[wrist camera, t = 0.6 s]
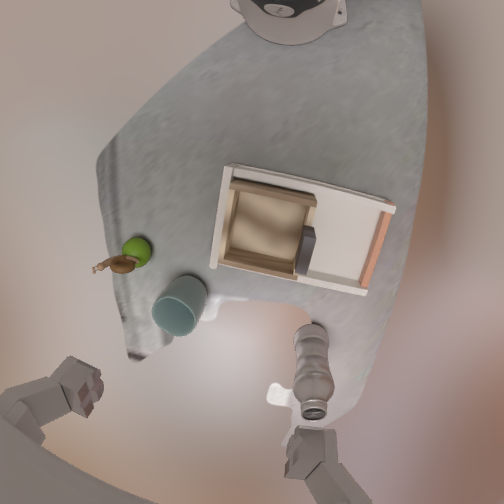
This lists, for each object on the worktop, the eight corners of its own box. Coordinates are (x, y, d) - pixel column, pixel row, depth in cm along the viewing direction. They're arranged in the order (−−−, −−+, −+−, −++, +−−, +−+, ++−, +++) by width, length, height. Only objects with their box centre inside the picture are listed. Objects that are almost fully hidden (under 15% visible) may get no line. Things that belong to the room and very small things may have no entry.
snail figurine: (125, 231, 52) (89, 255, 41) (155, 235, 51) (122, 261, 40) (127, 257, 54) (93, 285, 43) (156, 262, 53) (125, 292, 42)
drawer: (237, 177, 44) (221, 189, 34) (316, 194, 44) (323, 211, 34) (226, 248, 49) (208, 277, 39) (298, 264, 48) (299, 298, 38)
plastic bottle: (300, 315, 53) (300, 397, 35) (333, 324, 53) (345, 405, 35) (289, 340, 56) (283, 421, 37) (320, 349, 56) (325, 429, 37)
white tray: (232, 163, 45) (224, 166, 40) (389, 200, 43) (400, 208, 38) (217, 254, 51) (209, 267, 46) (360, 286, 50) (367, 302, 45)
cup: (187, 261, 52) (166, 287, 43) (219, 289, 54) (205, 319, 44) (165, 287, 55) (143, 315, 46) (196, 312, 56) (179, 344, 47)
